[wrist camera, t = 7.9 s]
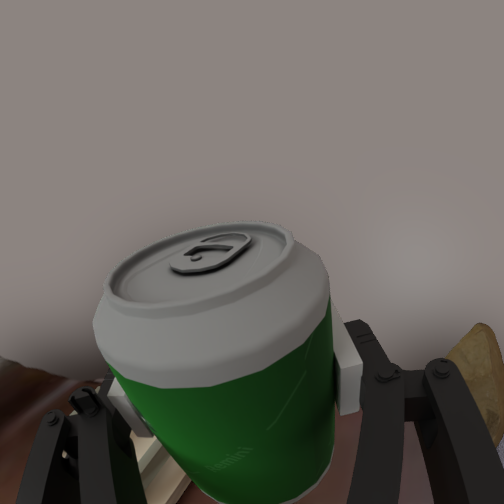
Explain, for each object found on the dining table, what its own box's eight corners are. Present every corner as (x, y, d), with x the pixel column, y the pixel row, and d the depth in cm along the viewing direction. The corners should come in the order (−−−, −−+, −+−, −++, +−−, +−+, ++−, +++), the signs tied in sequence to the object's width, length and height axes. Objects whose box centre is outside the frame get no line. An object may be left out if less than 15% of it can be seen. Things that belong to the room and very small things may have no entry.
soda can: (351, 421, 14) (349, 210, 10) (298, 536, 8) (238, 371, 4) (238, 395, 18) (183, 217, 14) (170, 481, 12) (42, 298, 8)
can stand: (39, 461, 21) (21, 444, 20) (102, 396, 33) (90, 378, 31) (143, 548, 13) (122, 538, 12) (215, 442, 25) (204, 423, 24)
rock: (533, 431, 12) (503, 353, 21) (528, 410, 10) (484, 313, 19) (433, 483, 17) (421, 404, 26) (397, 477, 15) (385, 379, 24)
